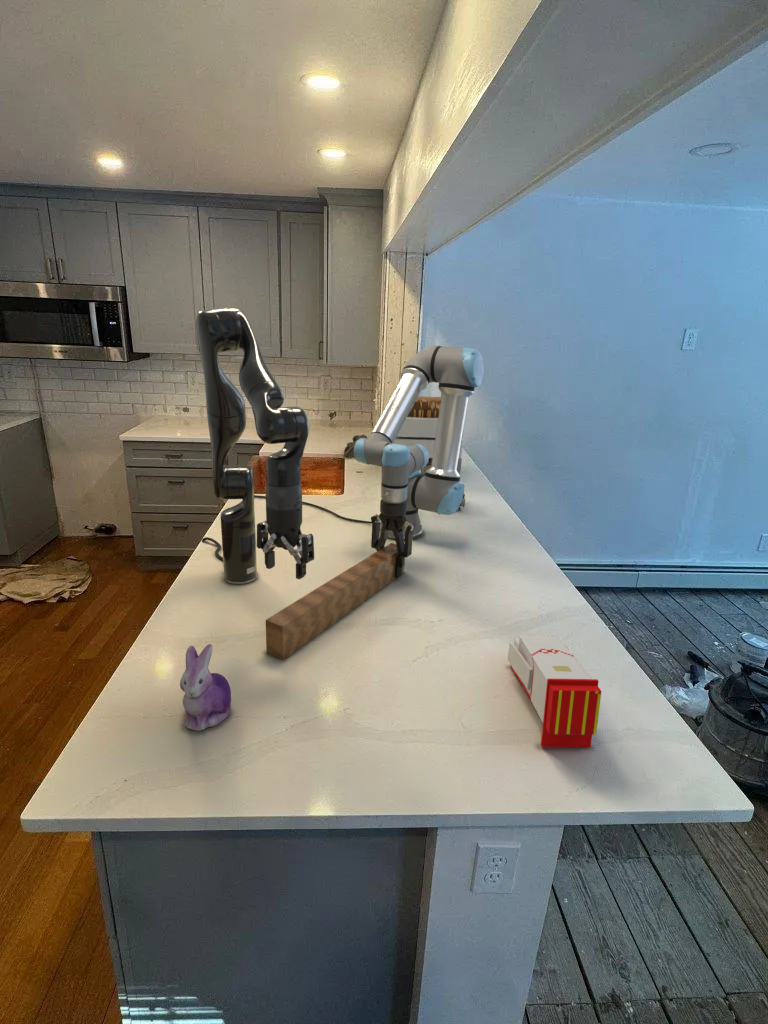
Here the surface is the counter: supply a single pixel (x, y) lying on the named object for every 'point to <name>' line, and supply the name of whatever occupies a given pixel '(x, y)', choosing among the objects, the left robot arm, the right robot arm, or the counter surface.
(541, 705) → the toy
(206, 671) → the figurine
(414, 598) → the counter surface
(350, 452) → the fossil
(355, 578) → the post
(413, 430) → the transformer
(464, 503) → the figurine character
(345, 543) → the counter surface
